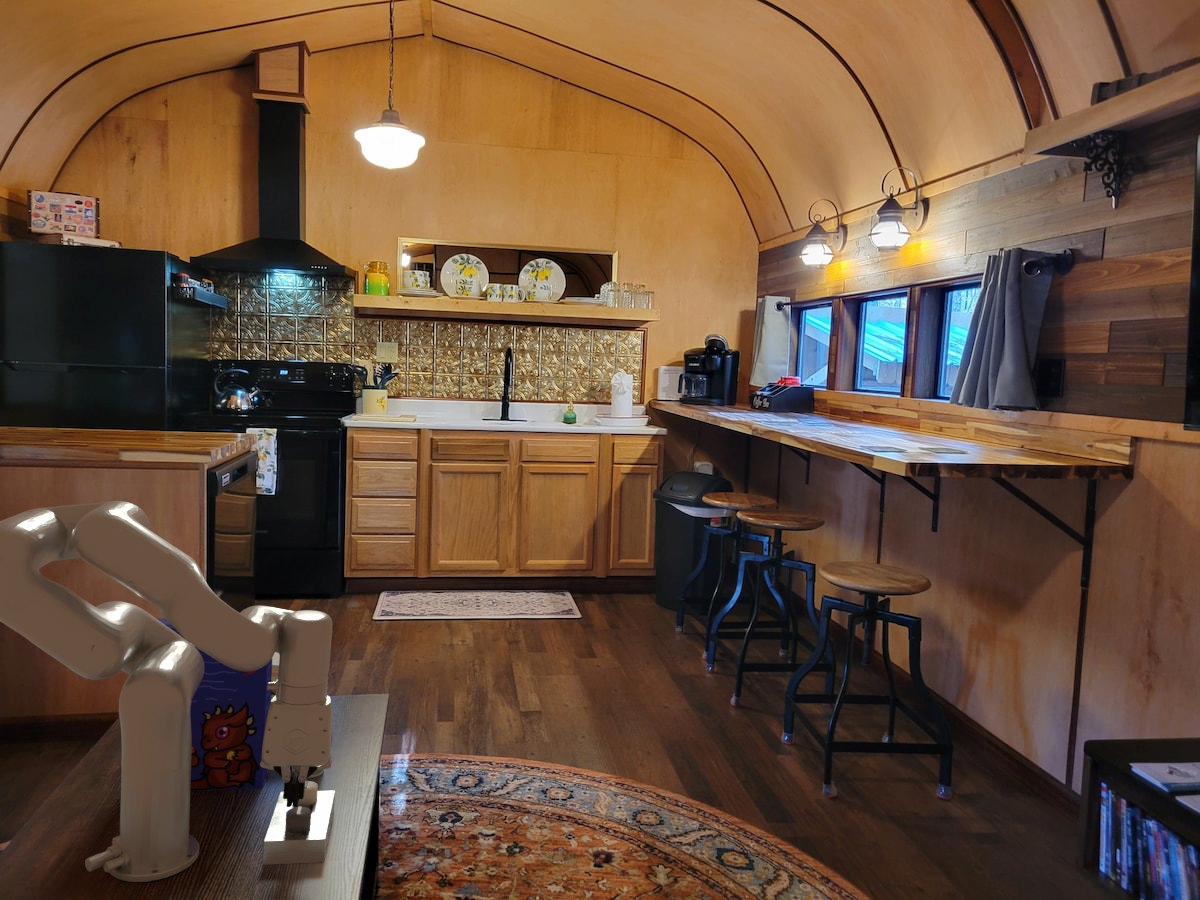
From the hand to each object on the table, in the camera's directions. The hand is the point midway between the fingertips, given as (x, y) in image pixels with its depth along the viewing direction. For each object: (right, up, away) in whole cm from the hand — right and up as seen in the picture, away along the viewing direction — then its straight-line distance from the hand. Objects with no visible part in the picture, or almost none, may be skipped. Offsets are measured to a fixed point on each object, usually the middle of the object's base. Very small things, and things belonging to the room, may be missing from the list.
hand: (293, 802), depth 138 cm
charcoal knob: (0, -8, +1) cm, 8 cm away
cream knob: (-1, -7, +10) cm, 12 cm away
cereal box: (-24, -5, +21) cm, 32 cm away
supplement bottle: (-7, -6, +28) cm, 29 cm away
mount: (-1, -8, +5) cm, 9 cm away
